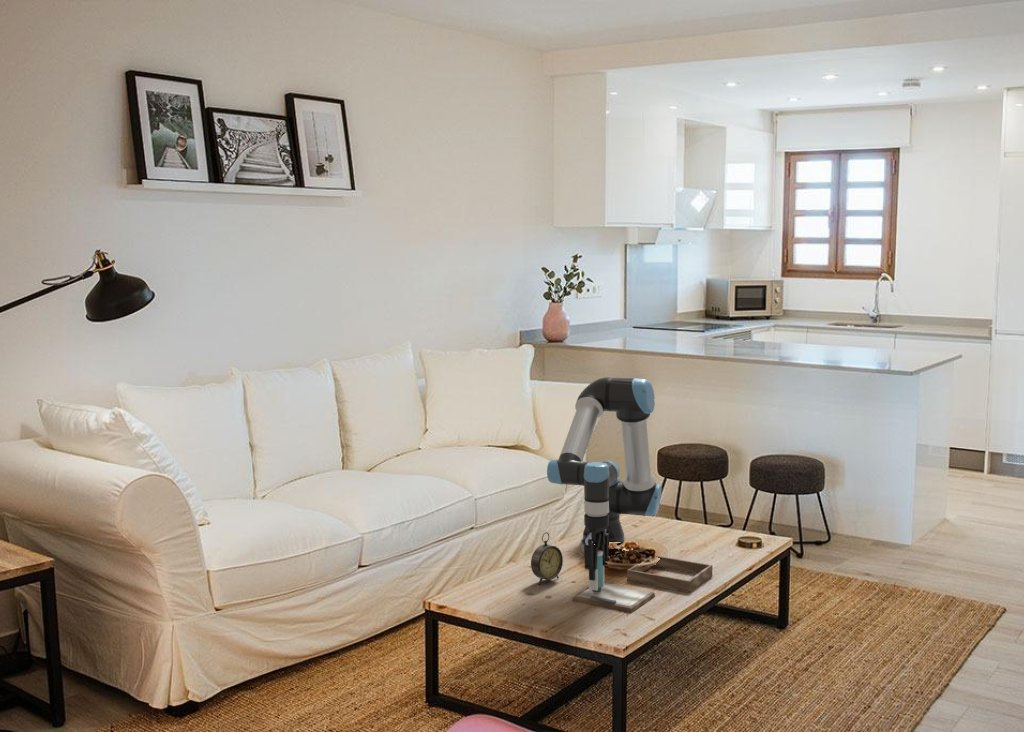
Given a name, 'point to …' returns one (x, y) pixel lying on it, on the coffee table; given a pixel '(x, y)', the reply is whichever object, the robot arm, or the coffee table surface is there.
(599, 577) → the cylinder
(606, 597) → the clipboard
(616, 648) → the coffee table surface
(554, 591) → the coffee table surface
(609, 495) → the robot arm
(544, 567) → the alarm clock
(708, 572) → the gray brown tray
